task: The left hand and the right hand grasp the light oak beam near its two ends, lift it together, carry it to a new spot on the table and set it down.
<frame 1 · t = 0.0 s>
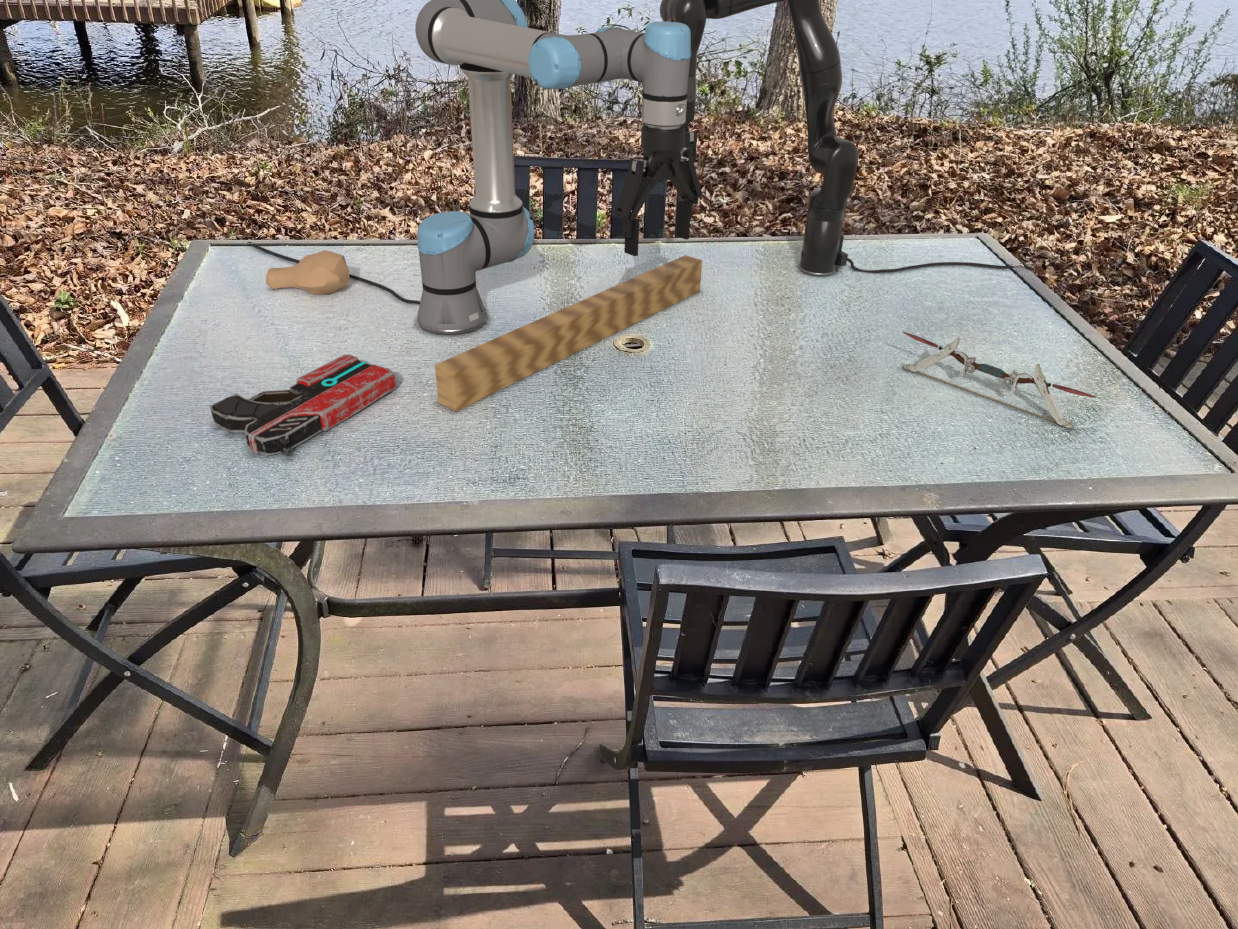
left hand: (657, 245, 161), 28 cm above the table, tool pointing down, fingers open, 13 cm apart
right hand: (673, 173, 196), 29 cm above the table, tool pointing down, fingers open, 8 cm apart
beam: (585, 340, 191), on the table
gun: (308, 410, 163), on the table
squash: (310, 289, 210), on the table
bow: (983, 397, 174), on the table
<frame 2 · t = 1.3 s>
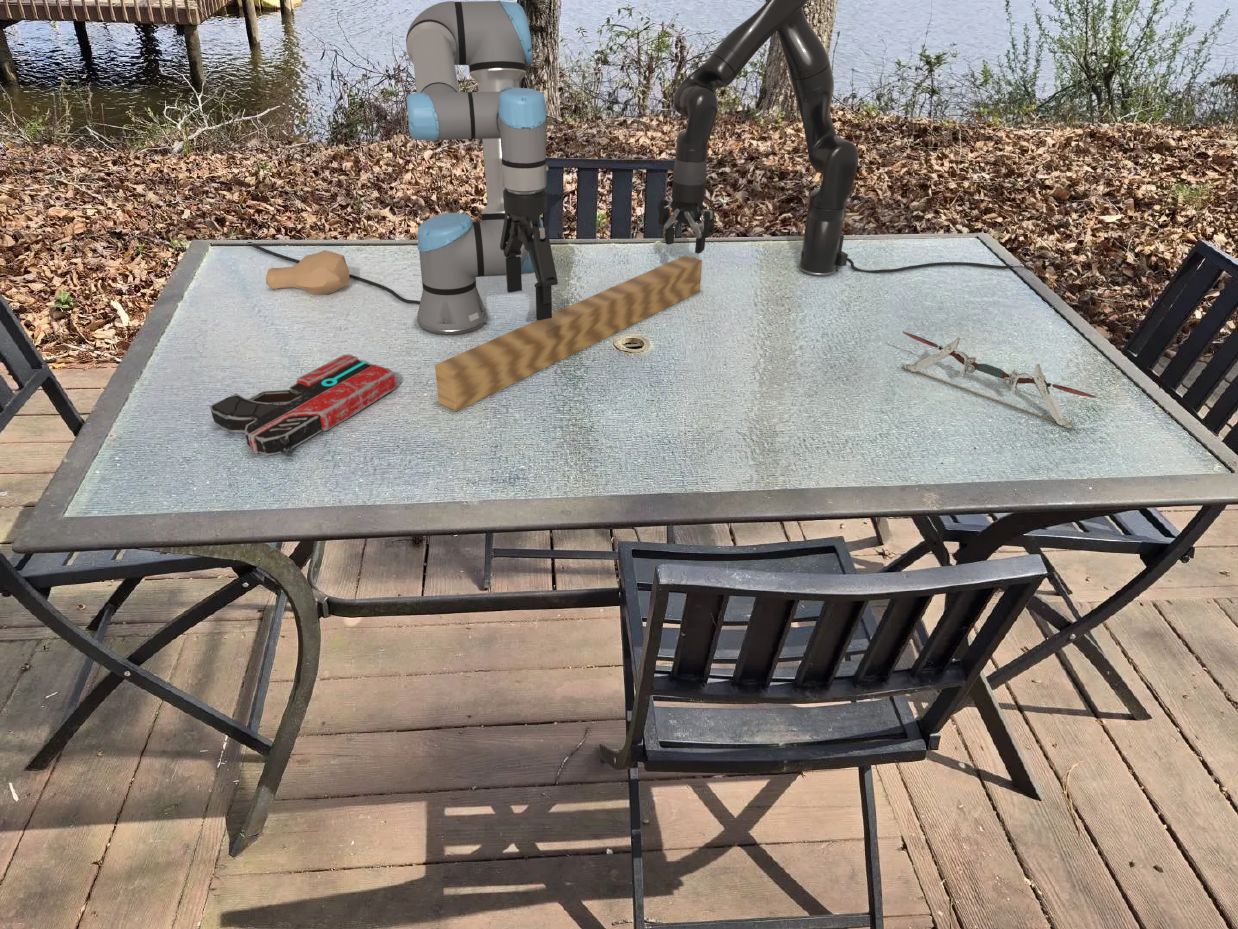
left hand: (529, 304, 161), 18 cm above the table, tool pointing down, fingers open, 13 cm apart
right hand: (684, 248, 207), 11 cm above the table, tool pointing down, fingers open, 8 cm apart
nothing on the table moved.
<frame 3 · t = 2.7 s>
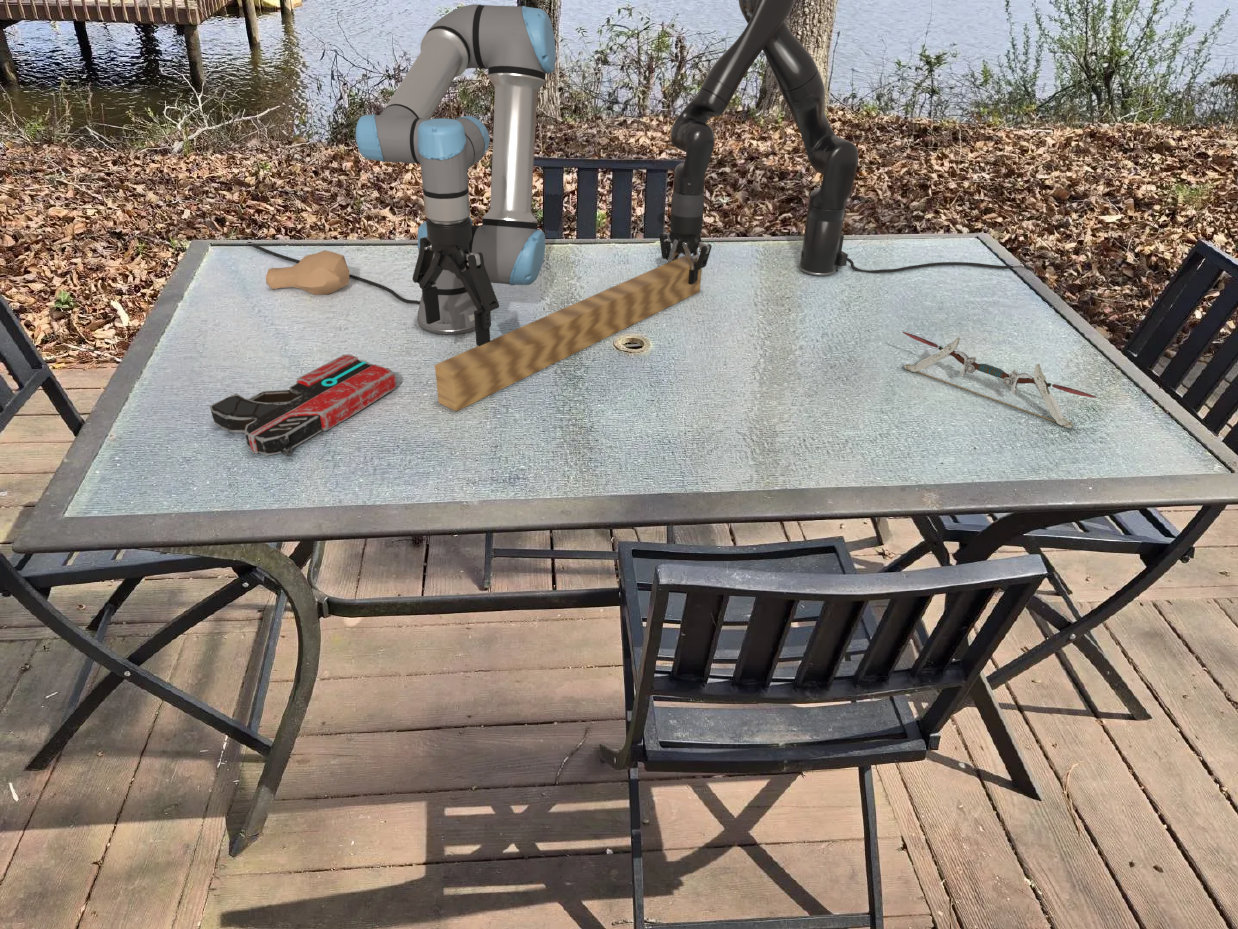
left hand: (457, 332, 160), 14 cm above the table, tool pointing down, fingers open, 13 cm apart
right hand: (682, 280, 212), 4 cm above the table, tool pointing down, fingers closed on beam, 5 cm apart
beam: (585, 340, 191), on the table, touching right hand
everything else where it was.
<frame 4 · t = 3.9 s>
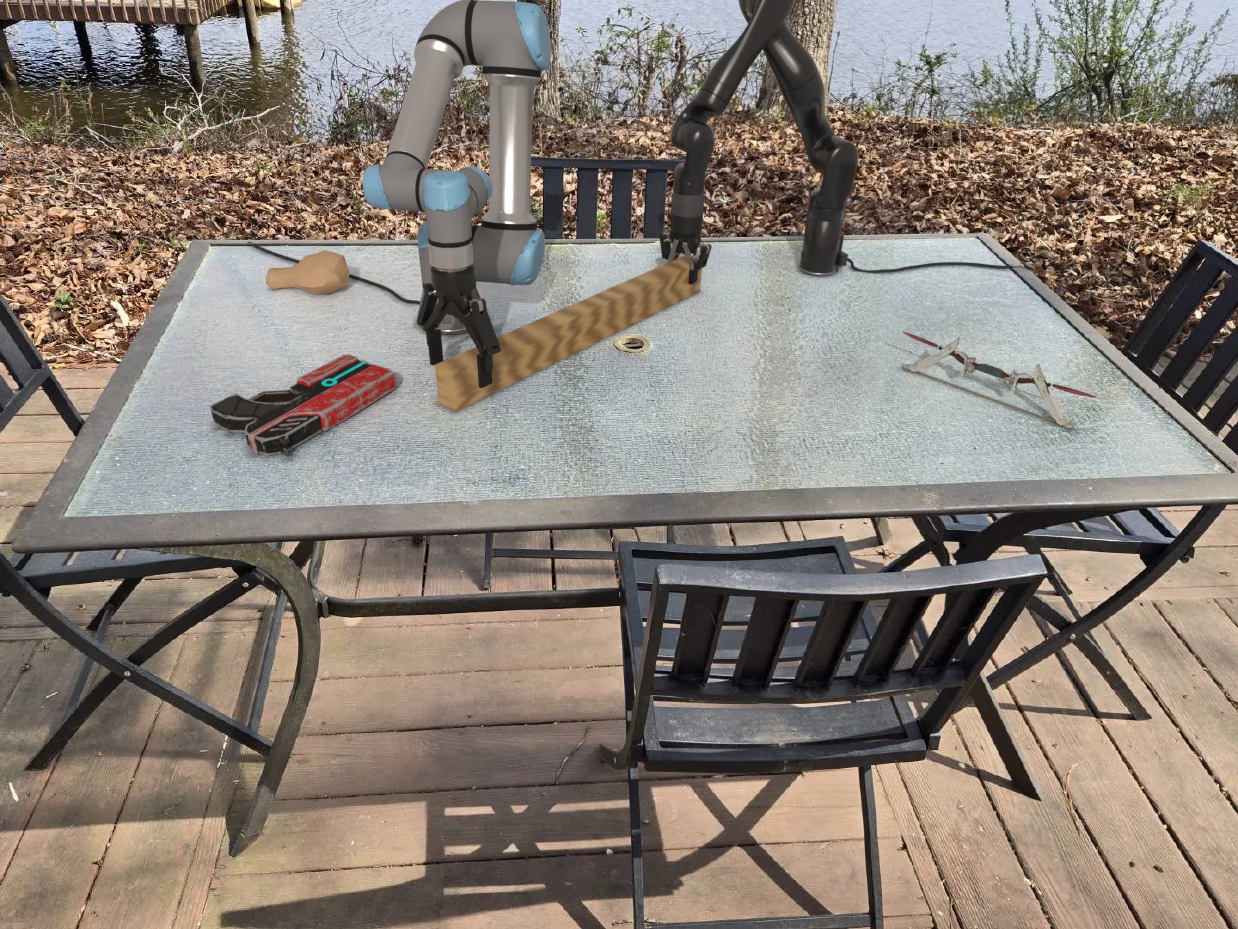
left hand: (460, 374, 165), 6 cm above the table, tool pointing down, fingers open, 13 cm apart
right hand: (682, 280, 212), 4 cm above the table, tool pointing down, fingers closed on beam, 5 cm apart
beam: (585, 340, 191), on the table, touching right hand
everything else where it was.
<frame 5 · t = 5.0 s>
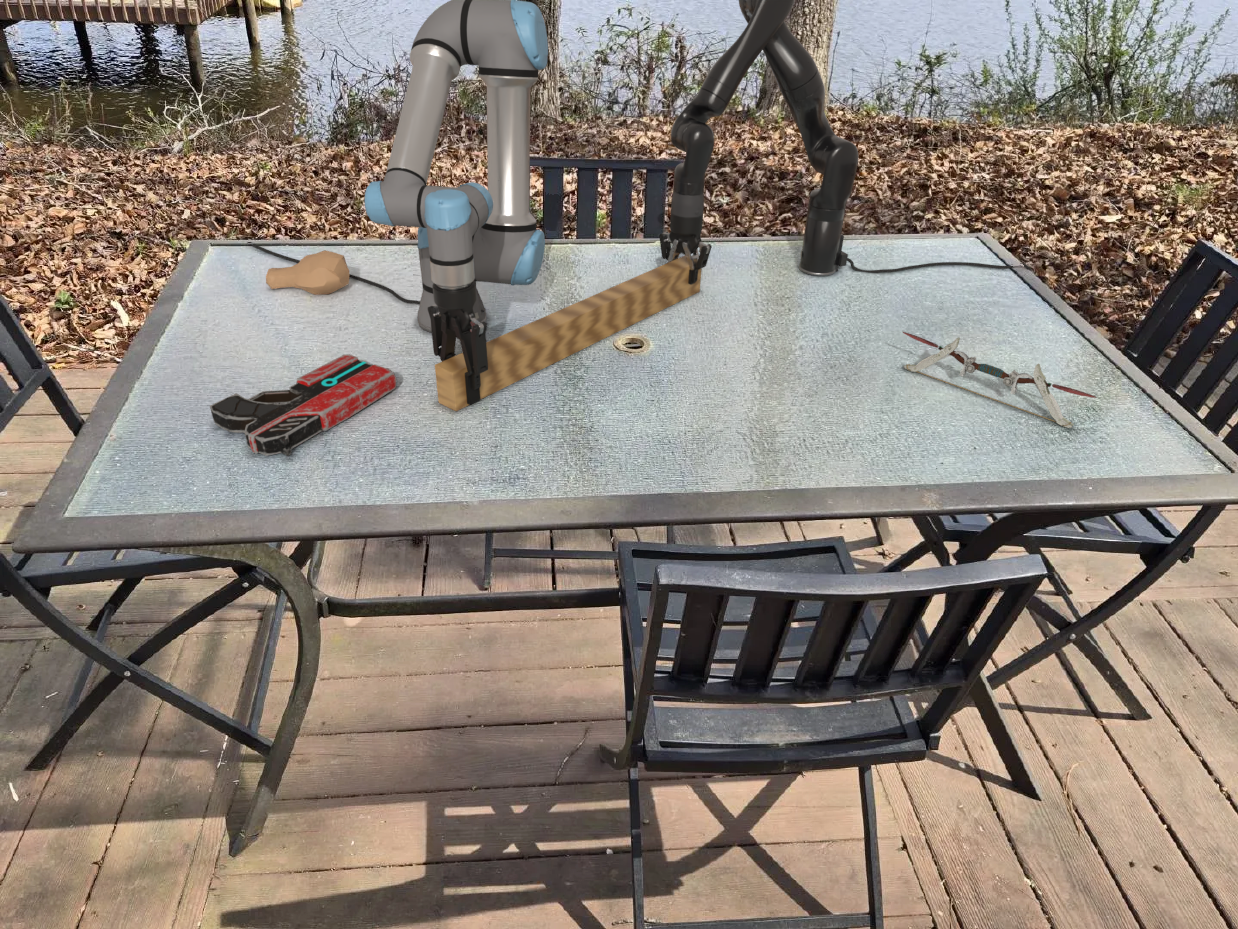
left hand: (463, 396, 168), 1 cm above the table, tool pointing down, fingers closed on beam, 5 cm apart
right hand: (682, 280, 212), 4 cm above the table, tool pointing down, fingers closed on beam, 5 cm apart
beam: (585, 340, 191), on the table, touching left hand, right hand
everything else where it was.
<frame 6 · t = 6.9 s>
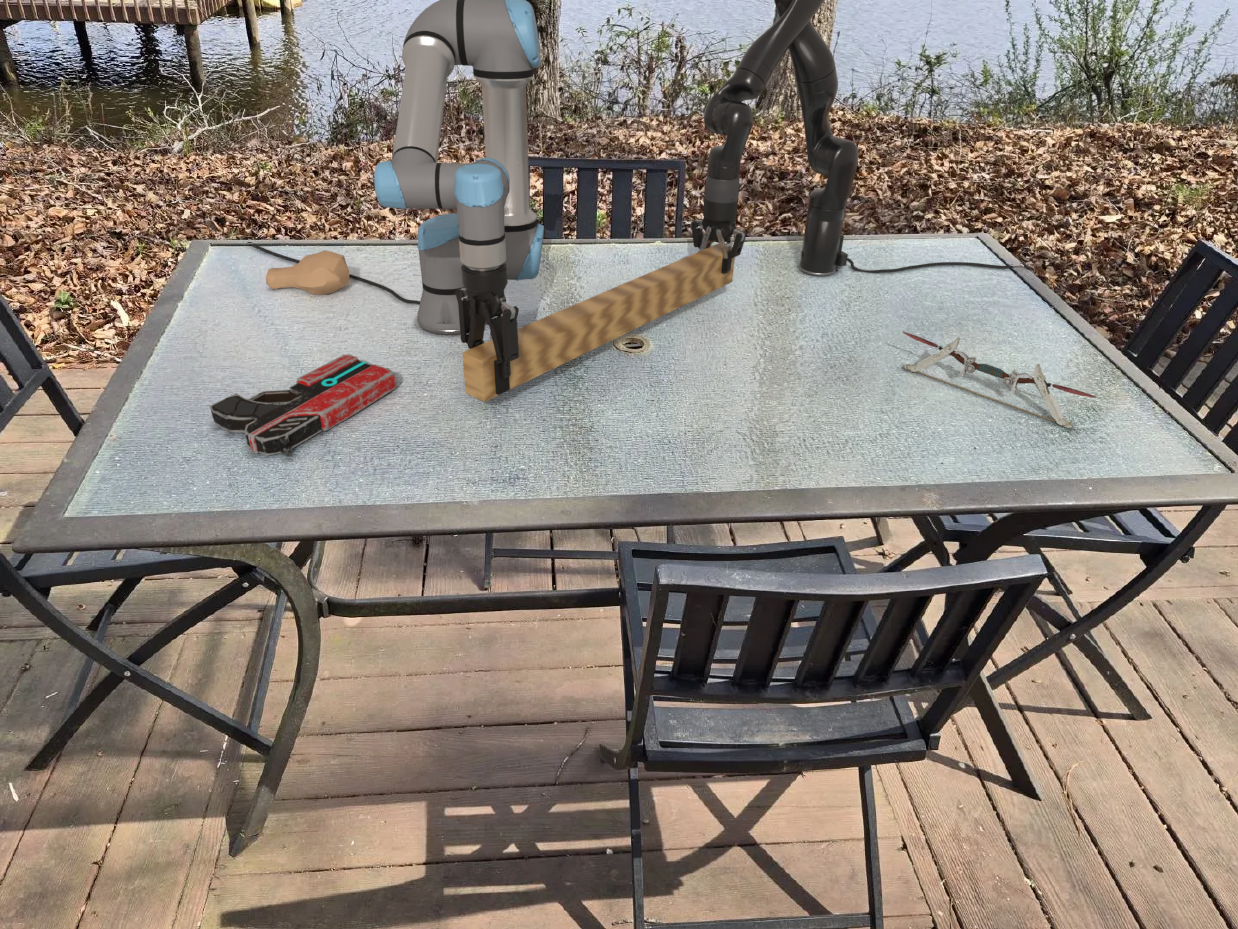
left hand: (491, 386, 158), 7 cm above the table, tool pointing down, fingers closed on beam, 5 cm apart
right hand: (714, 269, 203), 9 cm above the table, tool pointing down, fingers closed on beam, 5 cm apart
beam: (616, 330, 182), point 6 cm above the table, touching left hand, right hand
everything else where it was.
when the left hand's fingers open (2 cm above the table, at t = 8.6 s): beam drops 2 cm, on the table.
when the right hand's fingers open (5 cm above the table, at t = 8.7 s): beam stays where it is, on the table.
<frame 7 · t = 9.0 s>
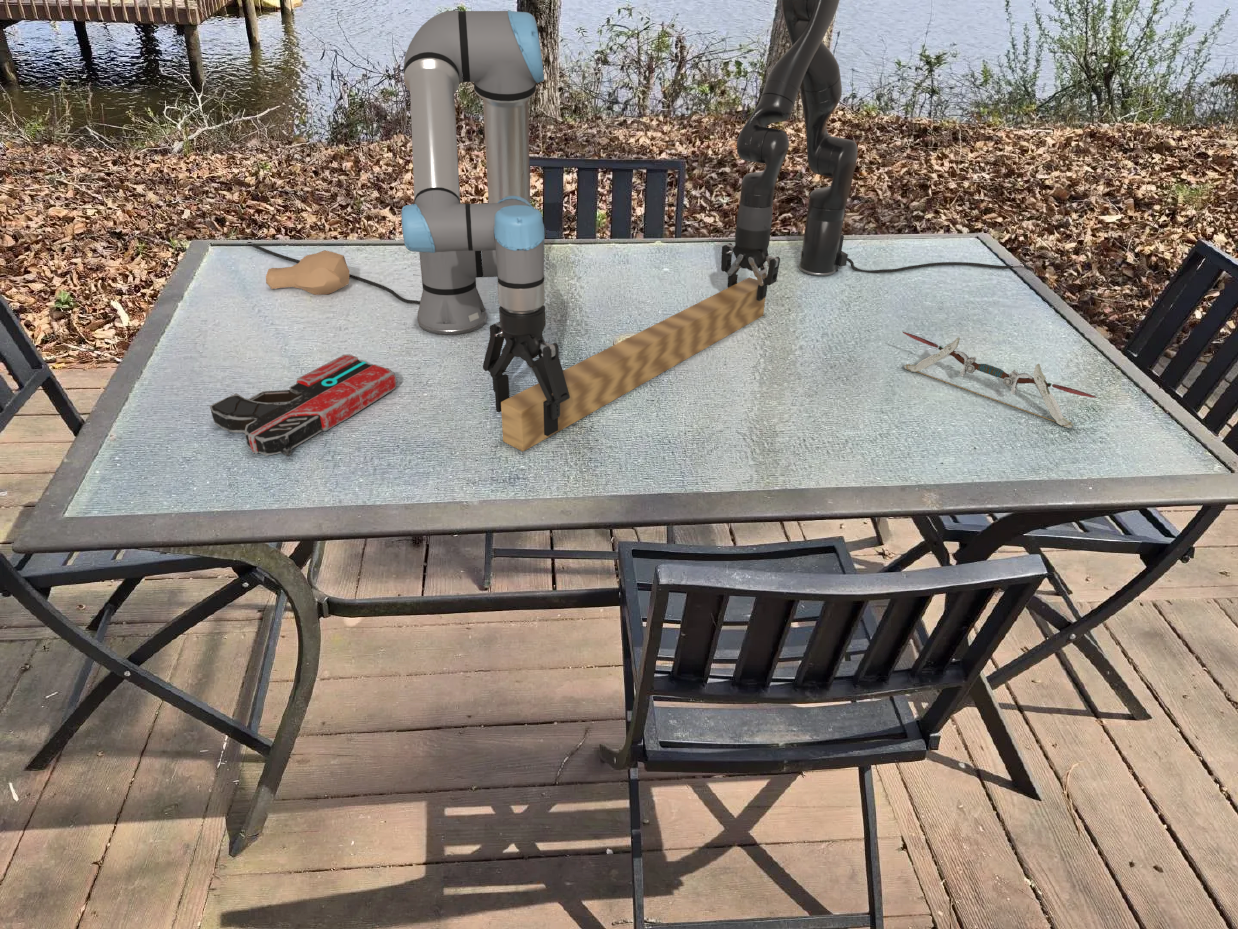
left hand: (526, 420, 155), 4 cm above the table, tool pointing down, fingers open, 11 cm apart
right hand: (746, 295, 199), 6 cm above the table, tool pointing down, fingers open, 7 cm apart
beam: (650, 370, 180), on the table
everything else where it was.
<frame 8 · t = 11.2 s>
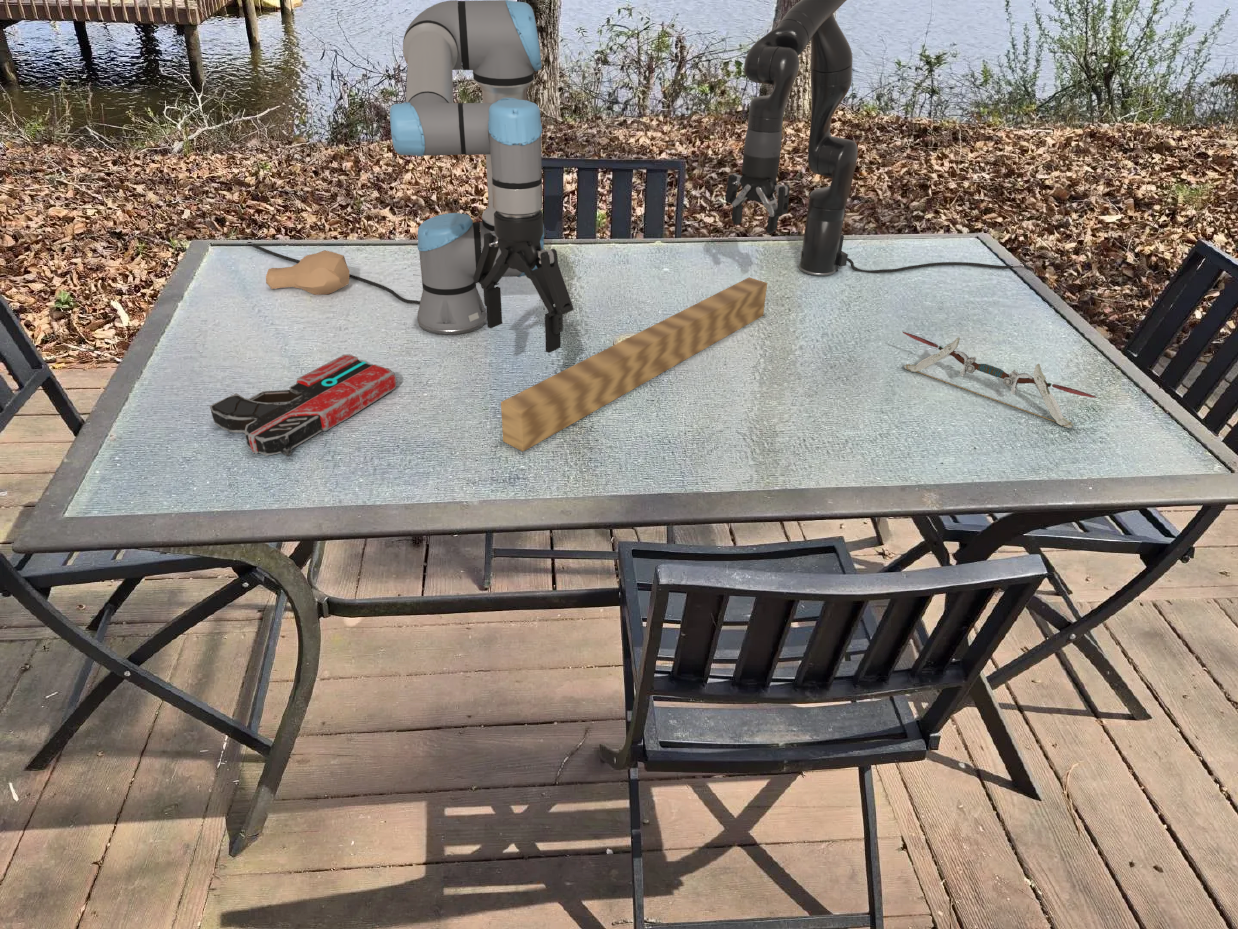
left hand: (523, 337, 146), 20 cm above the table, tool pointing down, fingers open, 13 cm apart
right hand: (753, 228, 190), 21 cm above the table, tool pointing down, fingers open, 8 cm apart
nothing on the table moved.
at the end: beam inside the target area (0.6 cm from its centre), on the table; beam tilted 0°; beam never tilted more than 2° during the clip; both hands held the beam at the same time; the left hand is holding nothing; the right hand is holding nothing; beam at rest at the end (0.0 cm/s) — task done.
